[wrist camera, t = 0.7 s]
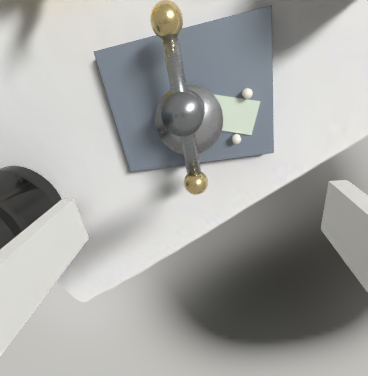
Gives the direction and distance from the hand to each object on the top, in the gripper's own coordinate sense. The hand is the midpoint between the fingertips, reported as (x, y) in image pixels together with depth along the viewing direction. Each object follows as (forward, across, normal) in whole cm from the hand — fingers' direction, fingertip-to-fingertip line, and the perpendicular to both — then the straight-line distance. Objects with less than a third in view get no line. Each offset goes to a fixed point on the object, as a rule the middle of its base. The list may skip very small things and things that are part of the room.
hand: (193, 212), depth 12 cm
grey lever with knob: (+22, -2, +3) cm, 22 cm away
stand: (+24, -2, +3) cm, 24 cm away
